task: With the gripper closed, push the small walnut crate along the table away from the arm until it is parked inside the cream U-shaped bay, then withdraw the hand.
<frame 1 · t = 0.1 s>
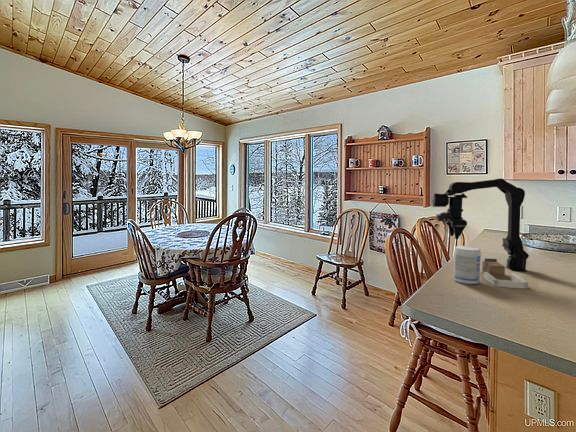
hand: (454, 237, 151), 15 cm above the table, tool pointing down, fingers open, 9 cm apart
supplement tub: (465, 281, 127), on the table
bay: (503, 282, 126), on the table
crate: (492, 274, 137), on the table
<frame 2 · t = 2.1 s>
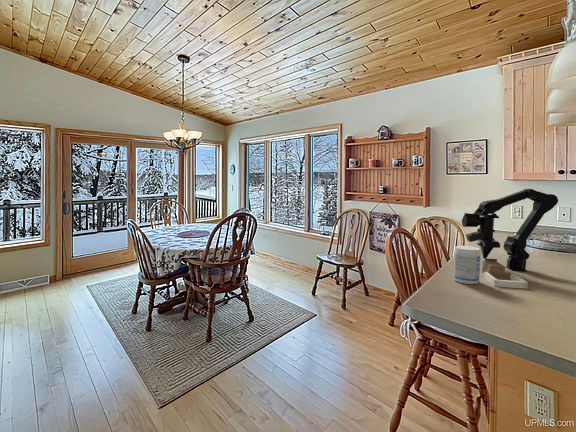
hand: (484, 258, 146), 5 cm above the table, tool pointing down, fingers closed
nothing on the table moved.
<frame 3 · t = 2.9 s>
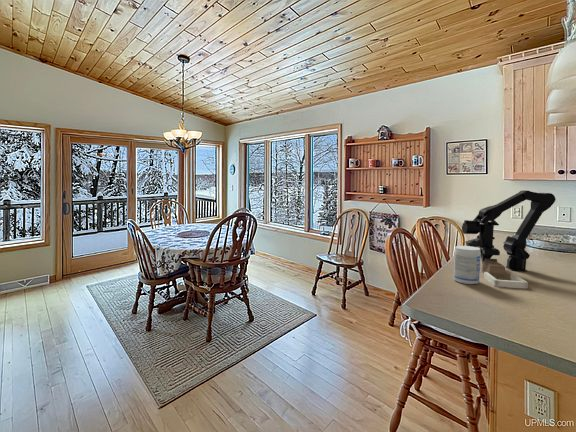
hand: (484, 265, 146), 2 cm above the table, tool pointing down, fingers closed
nothing on the table moved.
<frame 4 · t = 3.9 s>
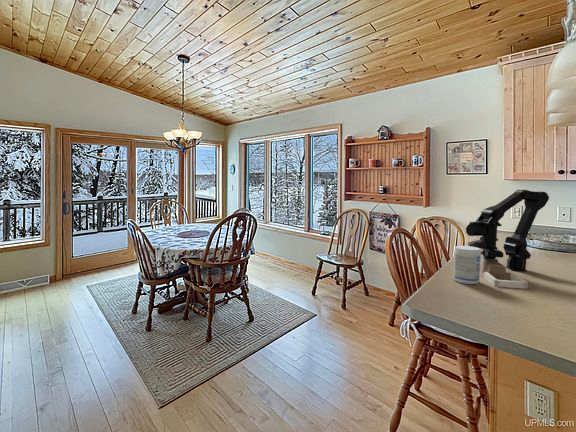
hand: (487, 267, 142), 2 cm above the table, tool pointing down, fingers closed
crate: (493, 274, 136), on the table, touching gripper
everything else where it was.
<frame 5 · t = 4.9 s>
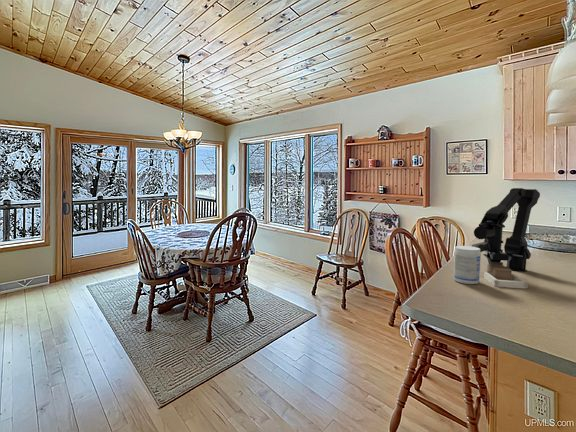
hand: (491, 270, 137), 2 cm above the table, tool pointing down, fingers closed
crate: (498, 278, 131), on the table, touching gripper
everything else where it was.
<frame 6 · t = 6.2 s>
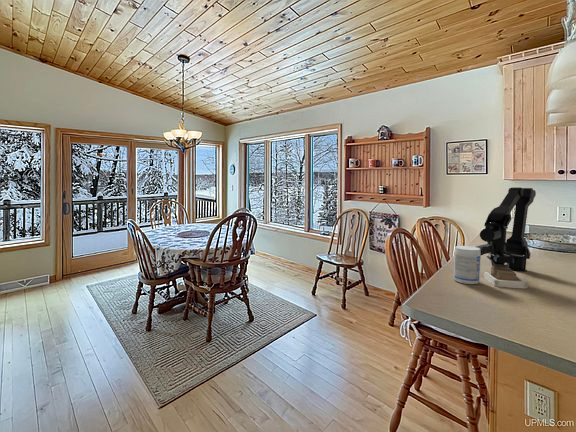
hand: (495, 273, 133), 1 cm above the table, tool pointing down, fingers closed
crate: (502, 281, 127), on the table, touching gripper
everything else where it was.
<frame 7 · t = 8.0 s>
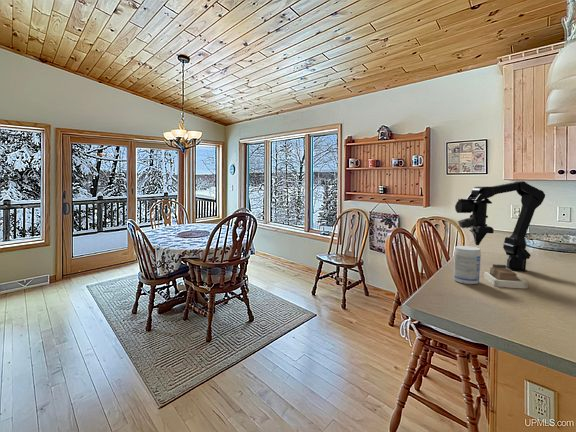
hand: (477, 245, 143), 12 cm above the table, tool pointing down, fingers closed
crate: (502, 282, 127), on the table
everything else where it was.
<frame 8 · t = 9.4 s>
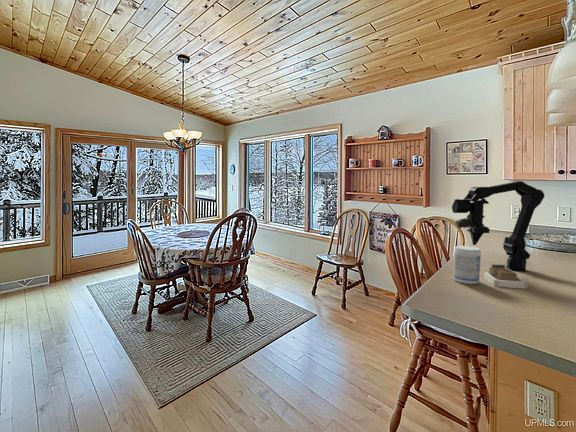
hand: (474, 244, 145), 12 cm above the table, tool pointing down, fingers closed
nothing on the table moved.
at the end: crate inside the target area (1.2 cm from its centre), on the table; crate tilted 0°; crate touching table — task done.
